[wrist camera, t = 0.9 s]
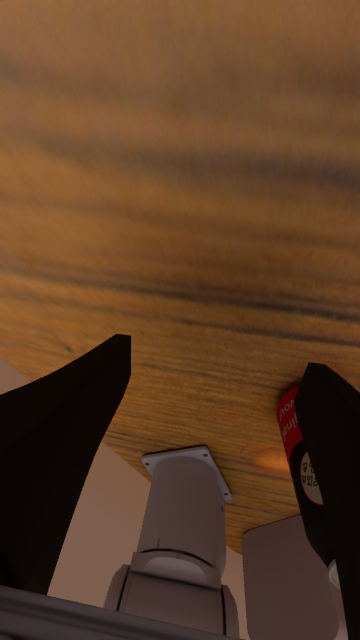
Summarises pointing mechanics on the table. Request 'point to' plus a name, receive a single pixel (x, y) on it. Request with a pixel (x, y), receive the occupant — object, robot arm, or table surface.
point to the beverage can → (306, 485)
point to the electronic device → (289, 586)
